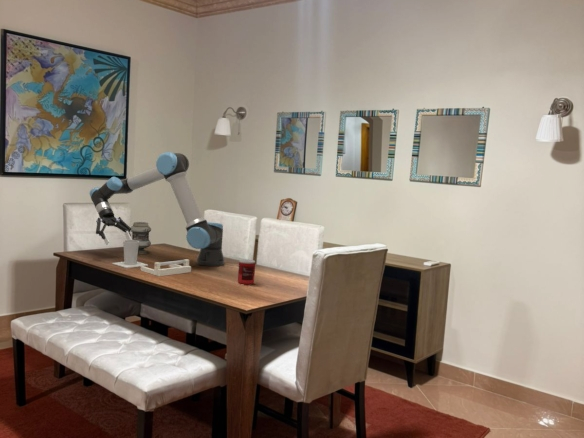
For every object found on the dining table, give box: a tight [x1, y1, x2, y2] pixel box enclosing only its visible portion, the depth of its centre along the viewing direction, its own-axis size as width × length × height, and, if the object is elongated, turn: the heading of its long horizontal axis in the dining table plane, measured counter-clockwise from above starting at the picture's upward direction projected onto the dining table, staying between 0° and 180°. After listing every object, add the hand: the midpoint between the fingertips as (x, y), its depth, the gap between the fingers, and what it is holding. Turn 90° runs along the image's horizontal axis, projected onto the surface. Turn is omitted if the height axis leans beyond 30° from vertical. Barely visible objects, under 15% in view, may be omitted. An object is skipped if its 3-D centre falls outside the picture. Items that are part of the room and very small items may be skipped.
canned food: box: [237, 258, 256, 286], centre depth 256 cm, size 8×8×11 cm
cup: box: [122, 239, 139, 265], centre depth 281 cm, size 8×8×12 cm
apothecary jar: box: [130, 221, 152, 255], centre depth 318 cm, size 12×12×18 cm
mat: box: [112, 261, 149, 269], centre depth 282 cm, size 13×13×1 cm
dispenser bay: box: [140, 258, 192, 277], centre depth 271 cm, size 16×20×6 cm
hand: (119, 242), depth 288 cm, fingers open, 13 cm apart
